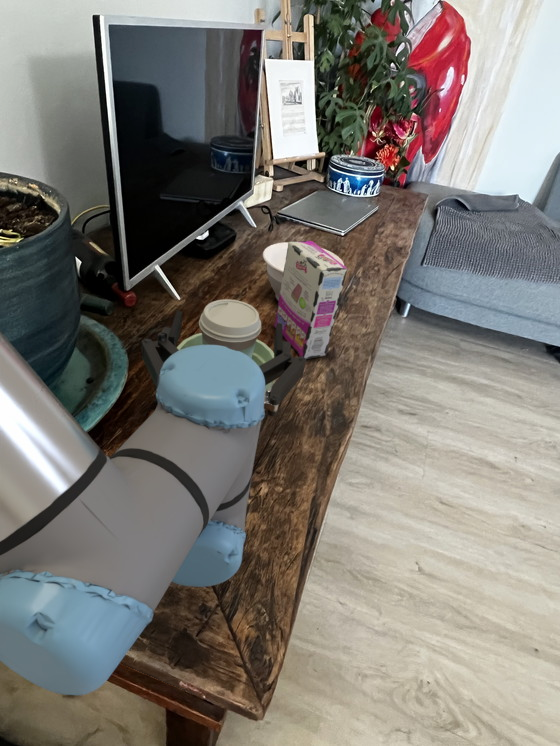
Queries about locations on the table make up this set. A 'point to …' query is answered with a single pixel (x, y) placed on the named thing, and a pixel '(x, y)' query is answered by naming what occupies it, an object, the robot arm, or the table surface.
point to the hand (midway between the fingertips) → (229, 325)
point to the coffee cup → (230, 325)
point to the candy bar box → (309, 297)
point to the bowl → (280, 264)
